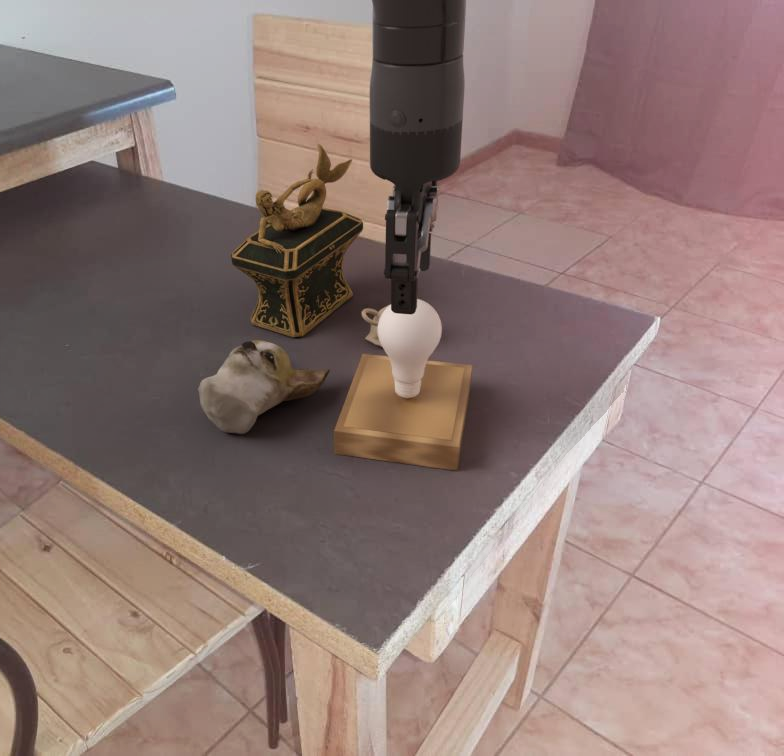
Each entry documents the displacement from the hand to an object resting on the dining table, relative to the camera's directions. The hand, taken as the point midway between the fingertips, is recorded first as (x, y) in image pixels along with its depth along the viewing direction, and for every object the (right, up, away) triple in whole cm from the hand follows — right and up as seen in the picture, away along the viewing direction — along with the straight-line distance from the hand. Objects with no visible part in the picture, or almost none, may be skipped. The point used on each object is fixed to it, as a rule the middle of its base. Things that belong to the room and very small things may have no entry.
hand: (411, 289), depth 72 cm
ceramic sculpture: (-15, -12, +12) cm, 22 cm away
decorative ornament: (+1, -4, +21) cm, 22 cm away
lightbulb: (+1, -10, +7) cm, 12 cm away
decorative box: (-8, +1, +30) cm, 31 cm away
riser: (+1, -13, +9) cm, 15 cm away
